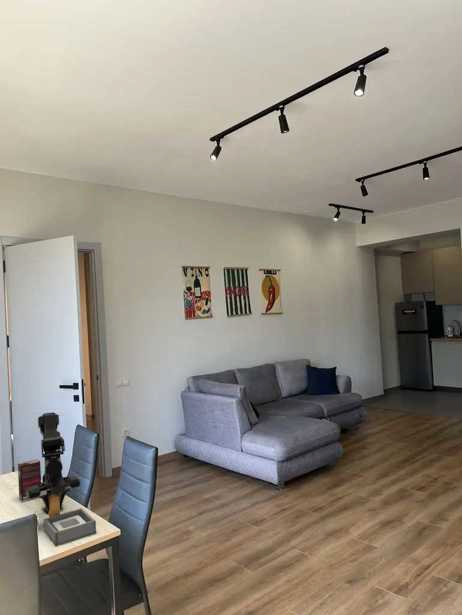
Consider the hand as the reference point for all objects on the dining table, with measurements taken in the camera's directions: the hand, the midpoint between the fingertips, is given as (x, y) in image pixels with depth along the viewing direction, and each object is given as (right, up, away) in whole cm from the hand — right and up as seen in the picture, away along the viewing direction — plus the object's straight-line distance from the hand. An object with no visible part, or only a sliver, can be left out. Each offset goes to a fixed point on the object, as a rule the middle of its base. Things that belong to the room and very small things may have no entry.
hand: (54, 509), depth 171 cm
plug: (0, -3, 0) cm, 3 cm away
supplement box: (-21, -7, +26) cm, 35 cm away
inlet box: (+9, -5, -8) cm, 13 cm away
